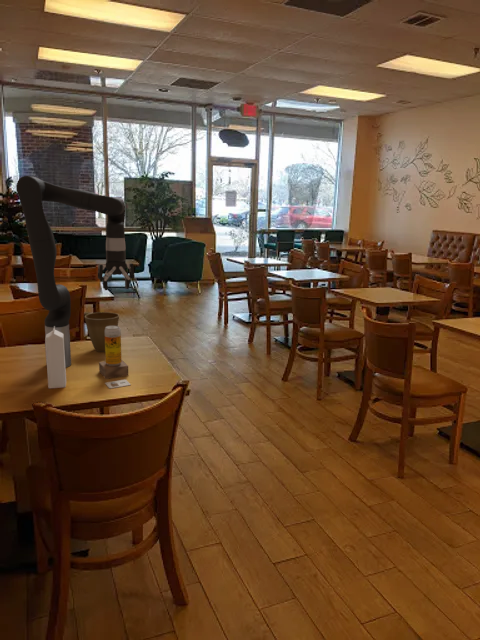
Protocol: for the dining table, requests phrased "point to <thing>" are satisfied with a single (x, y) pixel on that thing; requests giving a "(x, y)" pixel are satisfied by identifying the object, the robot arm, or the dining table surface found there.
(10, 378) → the dining table surface
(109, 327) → the yellow canister
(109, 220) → the robot arm
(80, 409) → the dining table surface
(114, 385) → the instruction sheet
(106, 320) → the plant pot
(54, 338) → the milk
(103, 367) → the base brick
